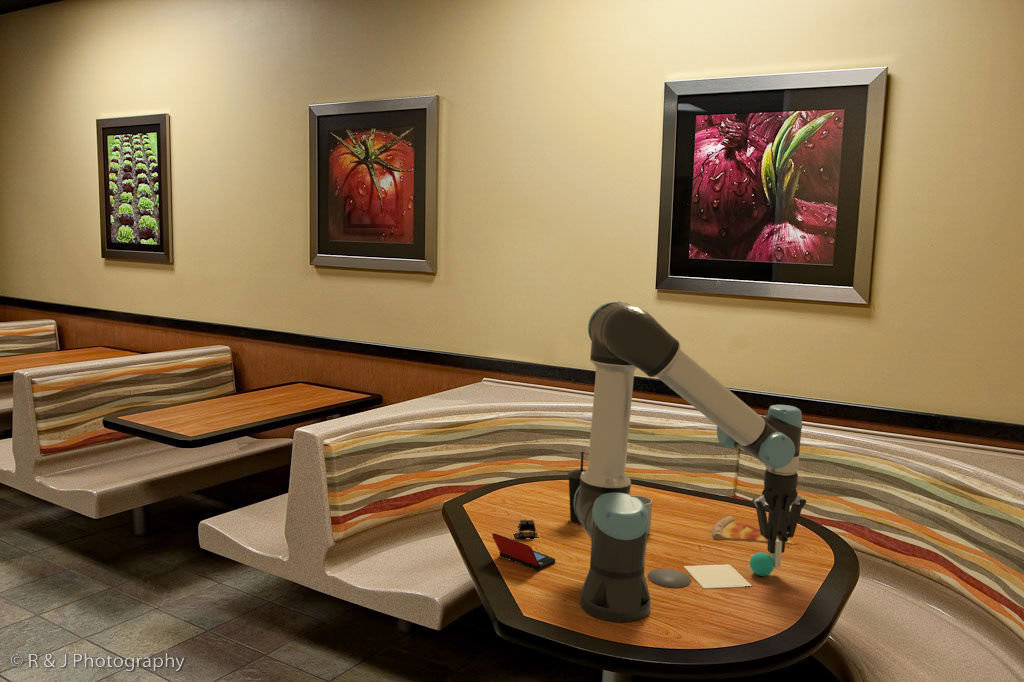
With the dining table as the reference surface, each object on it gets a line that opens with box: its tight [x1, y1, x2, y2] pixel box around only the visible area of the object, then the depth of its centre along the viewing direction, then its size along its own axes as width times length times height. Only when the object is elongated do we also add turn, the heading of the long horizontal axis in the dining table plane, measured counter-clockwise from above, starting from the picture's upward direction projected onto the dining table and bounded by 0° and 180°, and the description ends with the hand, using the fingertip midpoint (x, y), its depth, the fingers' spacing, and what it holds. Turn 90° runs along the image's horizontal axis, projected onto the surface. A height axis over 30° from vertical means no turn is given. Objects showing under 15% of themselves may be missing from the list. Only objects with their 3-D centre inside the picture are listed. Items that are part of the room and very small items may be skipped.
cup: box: [631, 495, 653, 535], centre depth 210 cm, size 7×10×9 cm
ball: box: [749, 551, 775, 577], centre depth 187 cm, size 6×6×6 cm
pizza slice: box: [711, 515, 796, 543], centre depth 210 cm, size 16×22×2 cm
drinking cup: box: [567, 451, 587, 525], centre depth 217 cm, size 8×8×20 cm
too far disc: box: [647, 568, 692, 589], centre depth 183 cm, size 10×10×1 cm
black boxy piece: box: [513, 519, 539, 539], centre depth 206 cm, size 12×7×5 cm, turn 96°
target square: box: [683, 563, 753, 590], centre depth 185 cm, size 12×12×1 cm
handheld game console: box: [491, 532, 556, 572], centre depth 189 cm, size 12×11×7 cm
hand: (774, 565), depth 187 cm, fingers closed
